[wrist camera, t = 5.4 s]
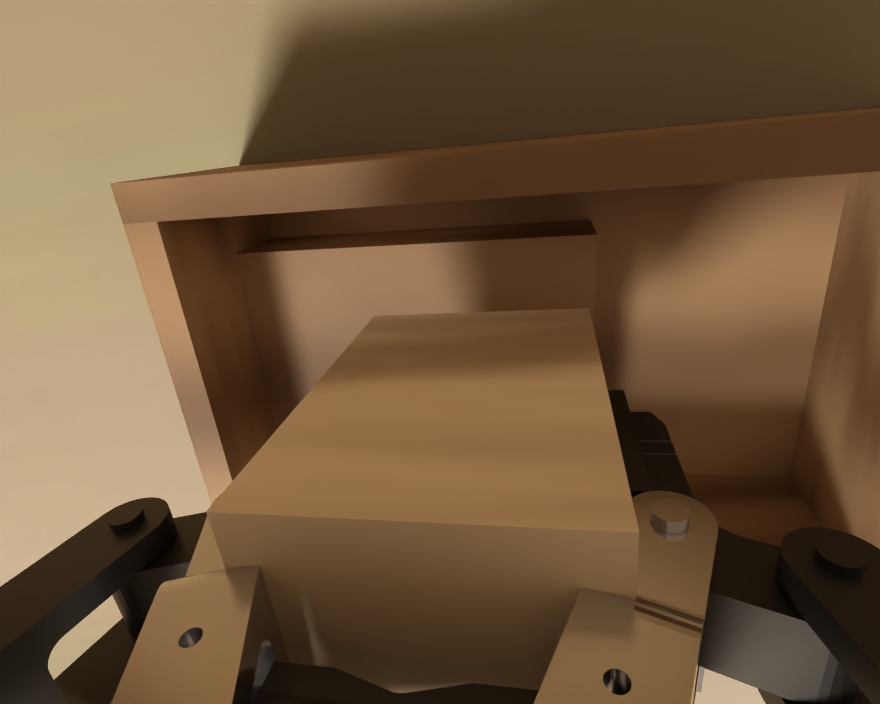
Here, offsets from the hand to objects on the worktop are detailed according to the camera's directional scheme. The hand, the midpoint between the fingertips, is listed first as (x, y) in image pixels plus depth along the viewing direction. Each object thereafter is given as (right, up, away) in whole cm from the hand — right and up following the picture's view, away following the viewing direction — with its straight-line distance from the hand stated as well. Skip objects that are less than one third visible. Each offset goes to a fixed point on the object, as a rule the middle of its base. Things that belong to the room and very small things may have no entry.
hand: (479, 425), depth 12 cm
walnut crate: (+2, +2, +7) cm, 7 cm away
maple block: (0, 0, +1) cm, 1 cm away
